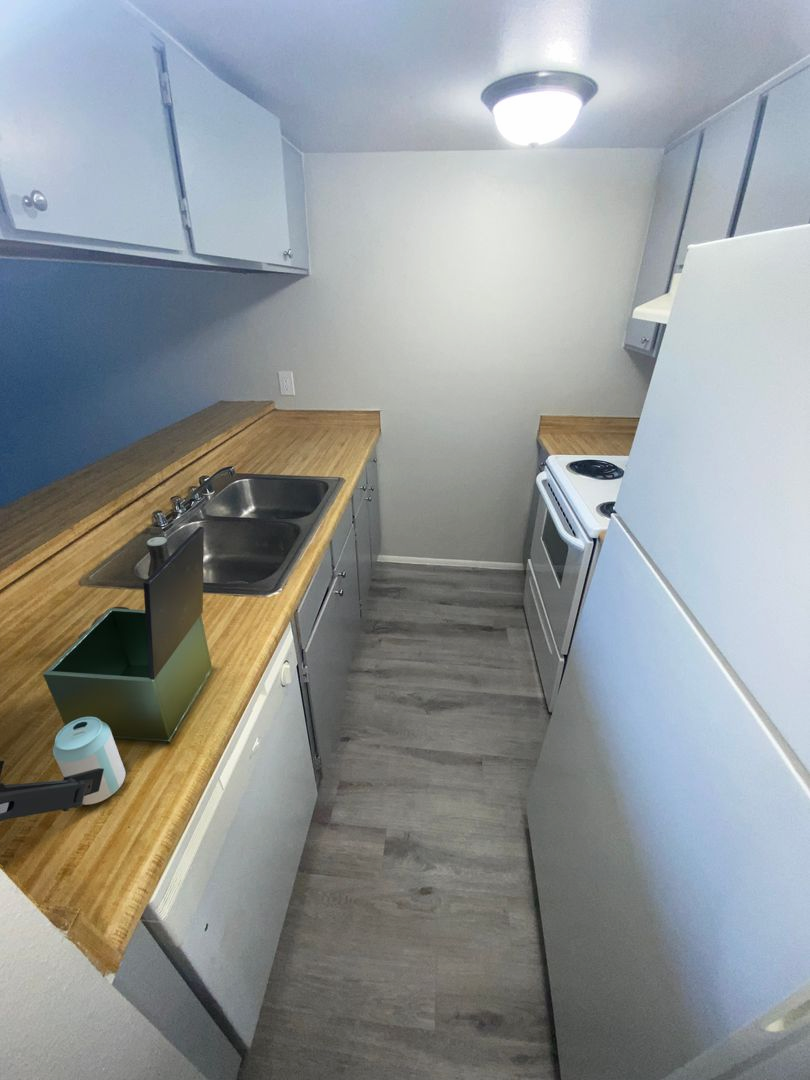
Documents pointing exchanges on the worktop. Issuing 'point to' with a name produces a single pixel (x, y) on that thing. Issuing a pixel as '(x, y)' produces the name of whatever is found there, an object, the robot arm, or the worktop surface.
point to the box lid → (173, 600)
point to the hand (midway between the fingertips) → (48, 775)
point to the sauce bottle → (157, 553)
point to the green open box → (129, 678)
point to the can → (90, 755)
